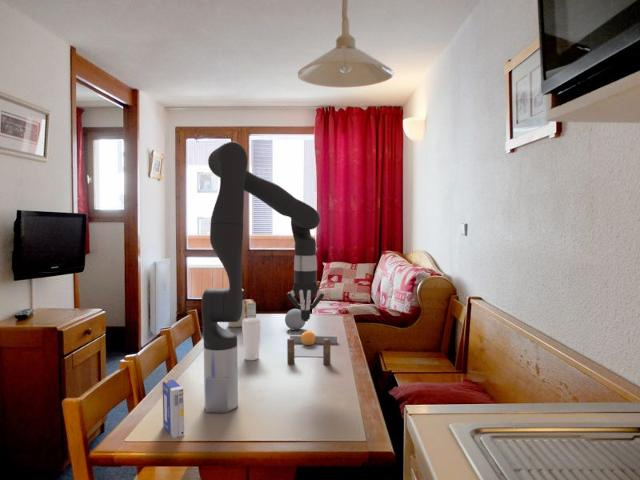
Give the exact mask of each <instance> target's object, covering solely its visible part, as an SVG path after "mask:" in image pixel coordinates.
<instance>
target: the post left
mask: <svg viewBox="0 0 640 480" xmlns="http://www.w3.org/2000/svg"><path fill="white" fill-rule="evenodd" d="M286 340H287V343H286V346H287V347H286V348H287V349H286V350H287V356H286V357H287V360H286V361H287V365H295V362H296V361H295V359H296V357H295V347H296V346H295V343H294V339H293V338H290V337H289V338H287V339H286Z"/></svg>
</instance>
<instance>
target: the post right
mask: <svg viewBox="0 0 640 480" xmlns="http://www.w3.org/2000/svg"><path fill="white" fill-rule="evenodd" d="M322 344H323V345H322V346H323V357H322V362H323V364H322V365H324V366H330V365H331V343H330V339H323V343H322Z"/></svg>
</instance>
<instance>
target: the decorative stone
mask: <svg viewBox="0 0 640 480" xmlns="http://www.w3.org/2000/svg"><path fill="white" fill-rule="evenodd" d="M284 322H285V325H286V327H288V329H290V330H291V331H298V330H301V329H302V328H303V327H305V325H306V322H307V321H303V320H302V319H301V310H300V309H299V308H292V309H290V310H288V311H287V313H286V314H285V317H284Z"/></svg>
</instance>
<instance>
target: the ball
mask: <svg viewBox="0 0 640 480" xmlns="http://www.w3.org/2000/svg"><path fill="white" fill-rule="evenodd" d="M301 335H302V336H301V341H302V343H301V344H303V345H304V346H313V345H314V344H315V343H314V342H315V335H316V334H315V333H314V332H313V331H312V330H305V331H304V332H303V333H302V334H301Z"/></svg>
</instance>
